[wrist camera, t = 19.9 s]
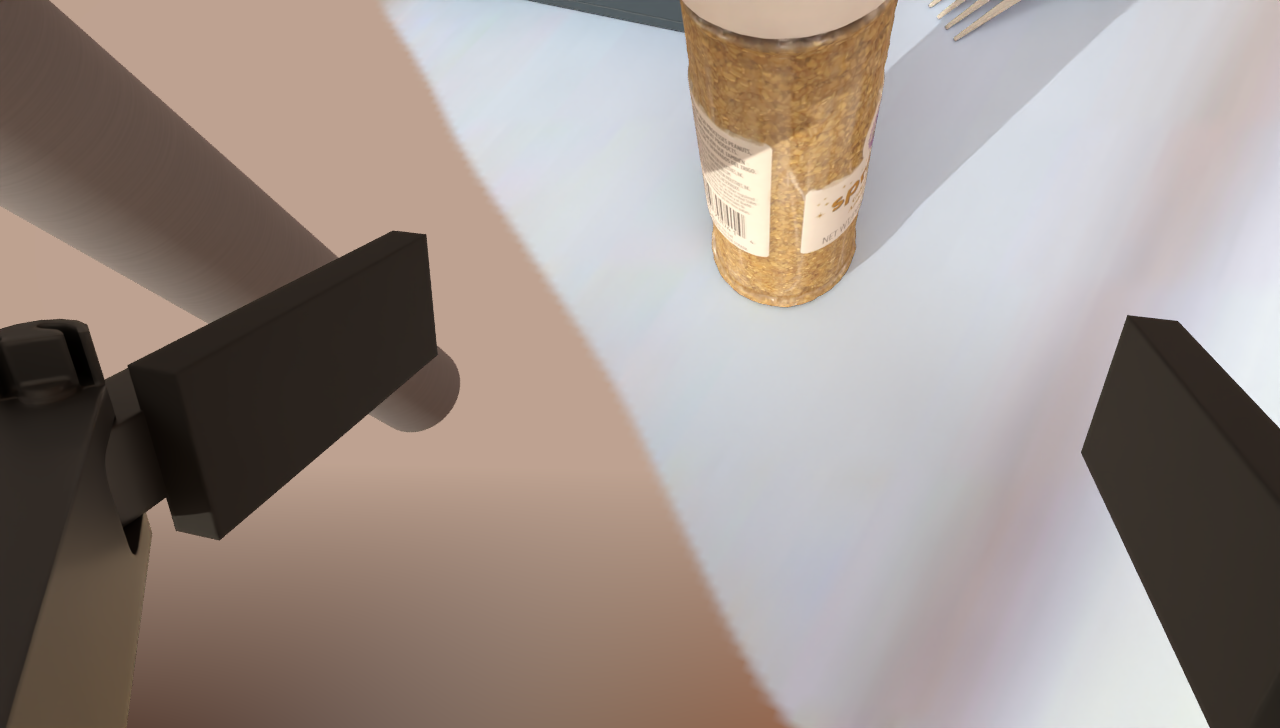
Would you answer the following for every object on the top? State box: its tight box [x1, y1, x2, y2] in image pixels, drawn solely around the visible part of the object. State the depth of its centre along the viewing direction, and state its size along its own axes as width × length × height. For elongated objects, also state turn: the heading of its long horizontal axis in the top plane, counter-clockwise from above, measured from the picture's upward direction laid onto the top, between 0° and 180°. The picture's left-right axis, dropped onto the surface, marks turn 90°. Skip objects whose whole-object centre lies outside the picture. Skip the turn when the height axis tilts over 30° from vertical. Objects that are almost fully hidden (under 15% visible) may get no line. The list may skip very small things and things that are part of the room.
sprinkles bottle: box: [680, 0, 898, 307], centre depth 18 cm, size 5×5×13 cm
